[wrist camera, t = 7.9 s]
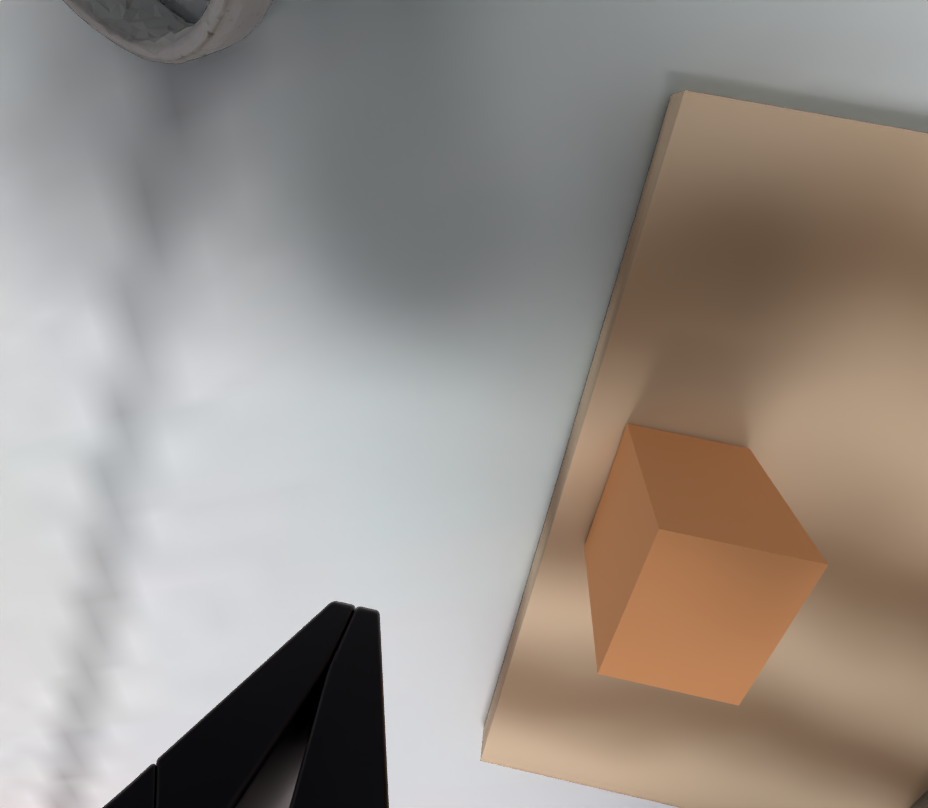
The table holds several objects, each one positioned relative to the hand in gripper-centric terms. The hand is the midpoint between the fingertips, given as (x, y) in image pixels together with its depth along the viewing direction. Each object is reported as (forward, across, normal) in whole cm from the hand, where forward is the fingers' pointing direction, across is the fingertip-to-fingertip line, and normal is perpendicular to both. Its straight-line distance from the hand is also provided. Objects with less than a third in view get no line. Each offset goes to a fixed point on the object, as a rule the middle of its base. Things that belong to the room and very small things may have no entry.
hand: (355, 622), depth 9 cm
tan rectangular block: (+6, -6, 0) cm, 9 cm away
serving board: (+7, -13, +2) cm, 15 cm away
